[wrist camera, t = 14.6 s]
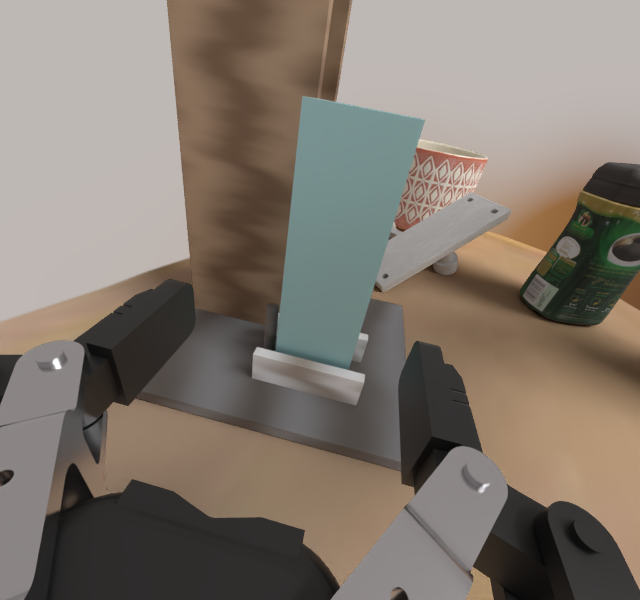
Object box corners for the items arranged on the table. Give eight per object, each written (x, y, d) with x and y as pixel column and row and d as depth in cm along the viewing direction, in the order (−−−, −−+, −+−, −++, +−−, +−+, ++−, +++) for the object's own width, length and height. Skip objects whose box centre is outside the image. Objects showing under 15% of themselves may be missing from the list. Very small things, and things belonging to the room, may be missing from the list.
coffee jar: (568, 298, 46) (666, 167, 35) (608, 332, 39) (742, 184, 29) (507, 289, 45) (588, 153, 35) (537, 322, 38) (649, 166, 28)
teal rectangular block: (348, 356, 26) (418, 117, 16) (343, 387, 23) (424, 120, 13) (286, 340, 27) (317, 98, 17) (273, 369, 24) (302, 96, 14)
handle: (390, 324, 43) (503, 255, 45) (381, 287, 37) (511, 209, 39) (335, 263, 55) (425, 210, 57) (321, 227, 50) (423, 170, 51)
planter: (391, 202, 75) (411, 136, 67) (467, 230, 66) (500, 157, 58) (345, 214, 62) (362, 132, 54) (432, 250, 53) (468, 159, 45)
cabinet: (399, 312, 35) (531, -33, 19) (408, 473, 20) (1065, -552, 4) (226, 271, 36) (221, -82, 21) (110, 391, 21) (-237, -600, 6)
